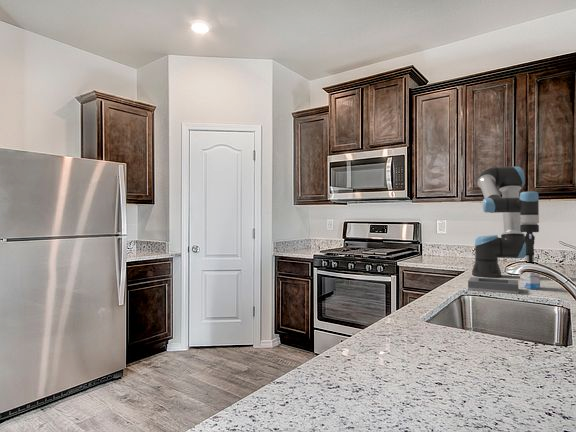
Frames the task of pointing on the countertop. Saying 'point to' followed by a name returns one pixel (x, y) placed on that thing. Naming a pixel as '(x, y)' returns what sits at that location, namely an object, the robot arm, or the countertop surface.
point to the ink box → (530, 280)
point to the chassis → (493, 285)
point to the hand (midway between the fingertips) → (530, 268)
